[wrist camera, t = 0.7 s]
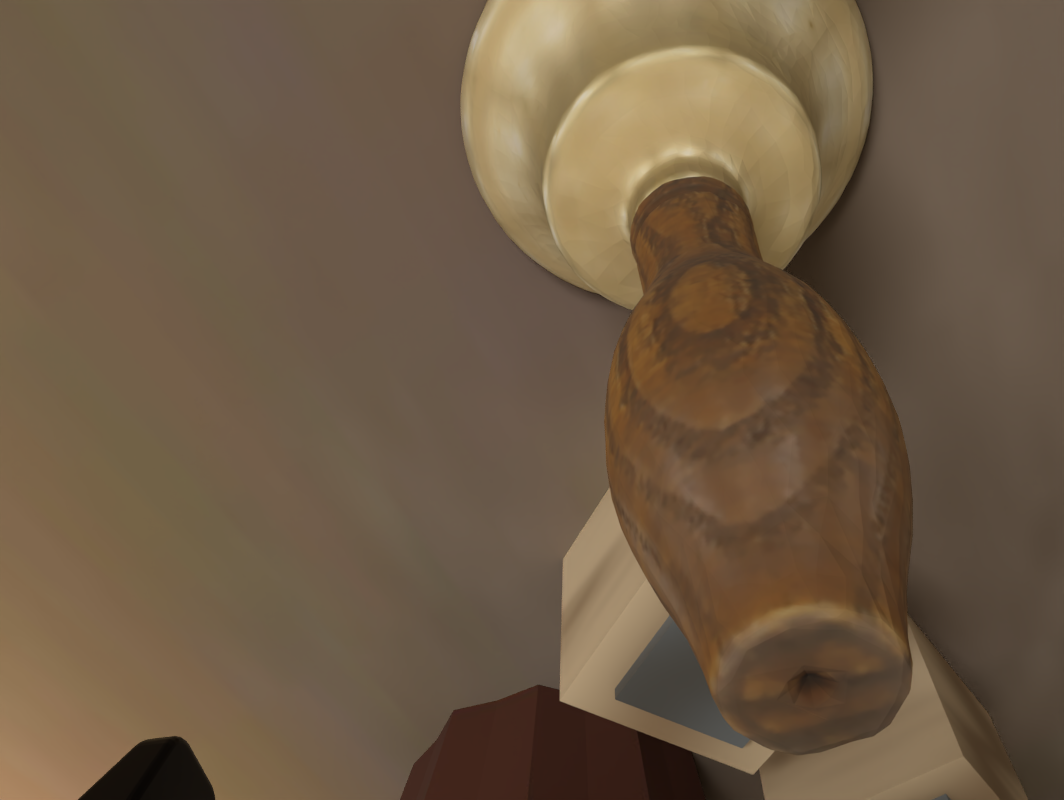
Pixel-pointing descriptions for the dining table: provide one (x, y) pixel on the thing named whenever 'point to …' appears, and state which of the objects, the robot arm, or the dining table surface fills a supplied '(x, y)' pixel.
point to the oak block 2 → (908, 749)
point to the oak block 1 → (636, 651)
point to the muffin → (548, 756)
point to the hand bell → (718, 328)
